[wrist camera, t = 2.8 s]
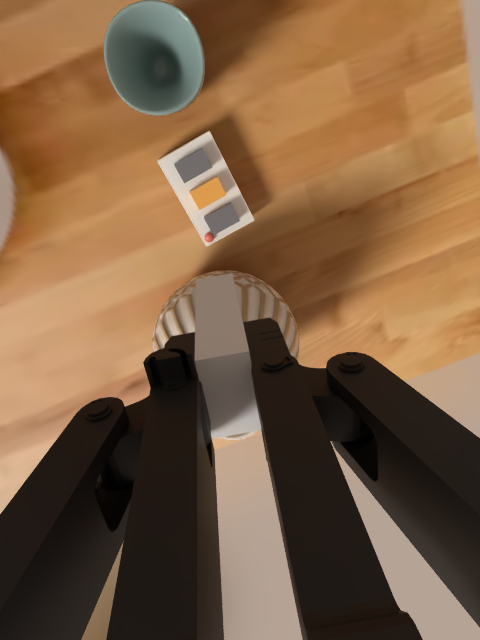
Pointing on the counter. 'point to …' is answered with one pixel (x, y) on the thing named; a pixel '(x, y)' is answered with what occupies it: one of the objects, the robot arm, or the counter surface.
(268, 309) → the vase
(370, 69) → the counter surface
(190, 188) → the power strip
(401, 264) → the counter surface
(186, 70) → the cup
